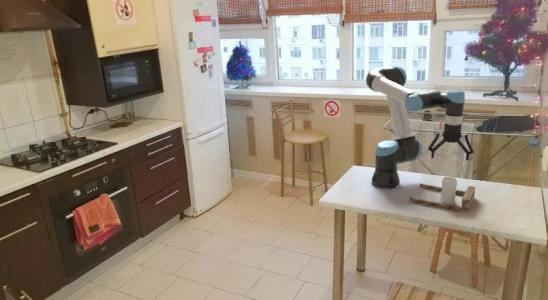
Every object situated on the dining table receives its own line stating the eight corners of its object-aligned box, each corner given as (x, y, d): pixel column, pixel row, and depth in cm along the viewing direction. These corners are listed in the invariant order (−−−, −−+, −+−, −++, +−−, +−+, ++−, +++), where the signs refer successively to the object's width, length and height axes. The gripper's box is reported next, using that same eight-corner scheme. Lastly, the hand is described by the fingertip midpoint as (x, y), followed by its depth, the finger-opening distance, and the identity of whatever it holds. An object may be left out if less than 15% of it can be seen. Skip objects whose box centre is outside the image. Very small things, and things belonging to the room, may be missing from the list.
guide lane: (409, 201, 212) (409, 198, 211) (420, 186, 228) (420, 183, 227) (460, 211, 199) (460, 207, 198) (468, 195, 215) (468, 191, 214)
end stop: (460, 210, 201) (461, 198, 199) (466, 196, 214) (467, 185, 212) (468, 211, 199) (469, 200, 197) (474, 197, 212) (475, 186, 210)
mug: (454, 205, 206) (457, 182, 202) (440, 203, 208) (441, 181, 204) (455, 197, 214) (457, 175, 210) (441, 195, 217) (443, 173, 213)
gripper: (424, 124, 200) (421, 165, 207) (483, 127, 192) (477, 170, 199) (425, 119, 206) (422, 160, 213) (481, 122, 198) (476, 164, 205)
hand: (448, 165), depth 206 cm, fingers open, 13 cm apart
